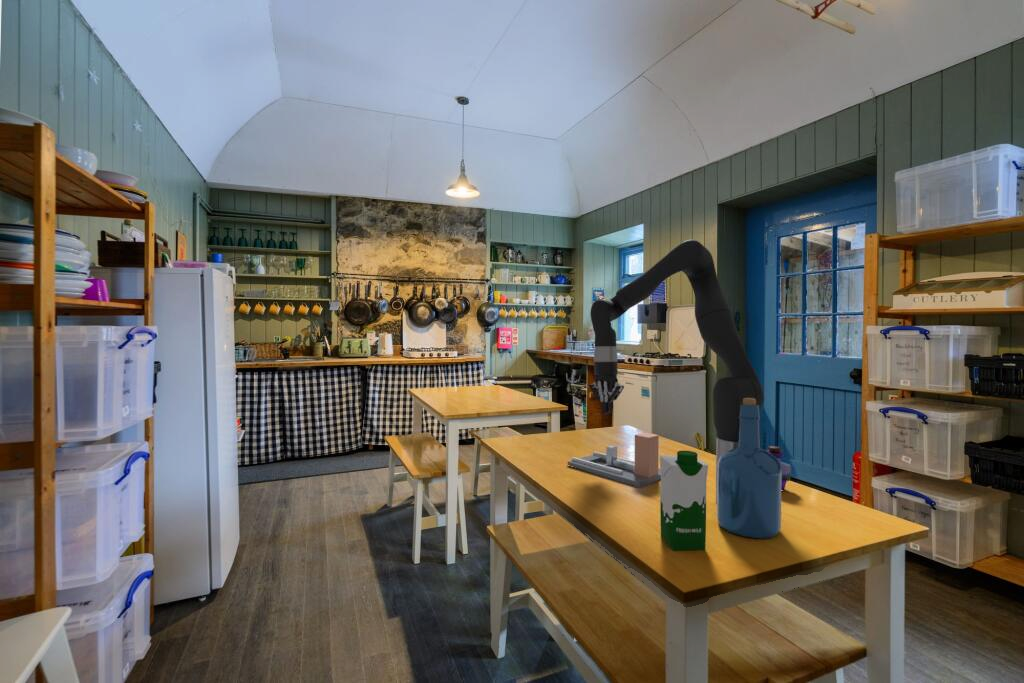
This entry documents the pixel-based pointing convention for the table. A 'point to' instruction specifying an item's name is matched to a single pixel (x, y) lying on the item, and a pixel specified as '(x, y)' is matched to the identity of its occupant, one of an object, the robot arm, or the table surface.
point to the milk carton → (683, 501)
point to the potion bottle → (784, 467)
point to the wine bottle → (749, 482)
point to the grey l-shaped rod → (612, 459)
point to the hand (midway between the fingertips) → (606, 413)
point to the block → (646, 454)
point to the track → (611, 470)
